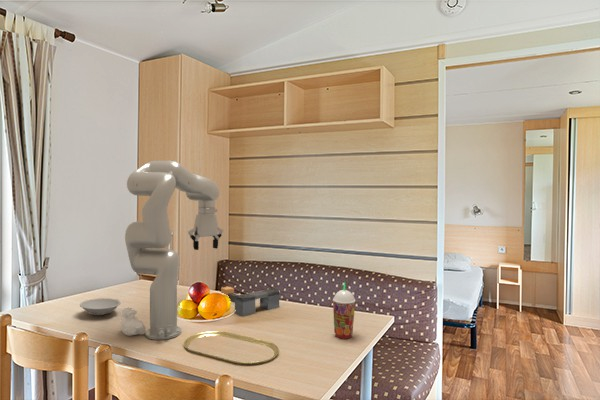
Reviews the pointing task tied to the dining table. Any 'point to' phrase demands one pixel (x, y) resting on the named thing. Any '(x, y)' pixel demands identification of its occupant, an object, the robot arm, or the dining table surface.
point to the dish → (100, 305)
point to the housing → (247, 301)
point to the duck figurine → (131, 323)
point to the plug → (229, 292)
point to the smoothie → (343, 313)
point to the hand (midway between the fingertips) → (205, 248)
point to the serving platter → (234, 336)
